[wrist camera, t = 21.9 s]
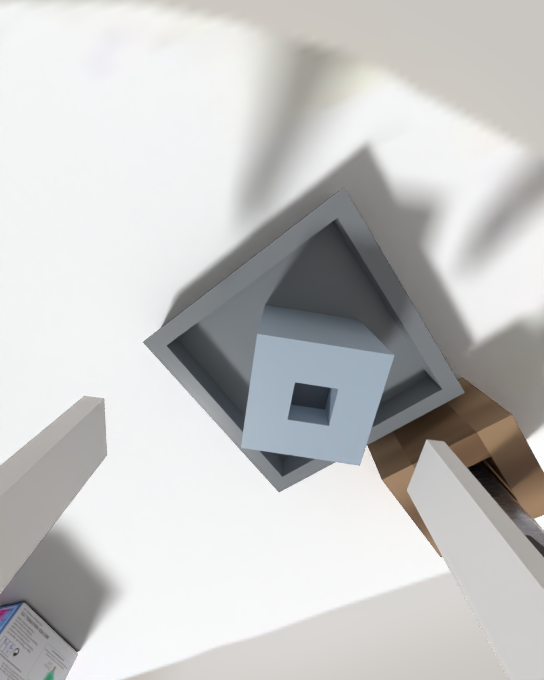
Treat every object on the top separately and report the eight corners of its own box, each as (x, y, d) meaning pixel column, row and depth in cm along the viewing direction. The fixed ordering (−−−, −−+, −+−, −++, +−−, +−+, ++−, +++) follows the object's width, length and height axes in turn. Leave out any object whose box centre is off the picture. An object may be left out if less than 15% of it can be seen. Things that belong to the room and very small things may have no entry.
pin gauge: (414, 451, 21) (661, 822, 7) (453, 429, 20) (801, 792, 7) (434, 478, 21) (693, 860, 8) (473, 457, 21) (821, 835, 8)
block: (252, 389, 20) (240, 447, 14) (264, 304, 18) (257, 333, 12) (337, 402, 20) (359, 465, 14) (359, 319, 18) (394, 355, 12)
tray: (159, 330, 20) (142, 342, 17) (335, 194, 17) (343, 187, 14) (279, 466, 23) (279, 492, 21) (443, 374, 20) (464, 392, 18)
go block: (362, 433, 22) (382, 479, 17) (463, 377, 20) (512, 414, 16) (412, 500, 24) (440, 557, 19) (508, 455, 22) (562, 506, 18)
